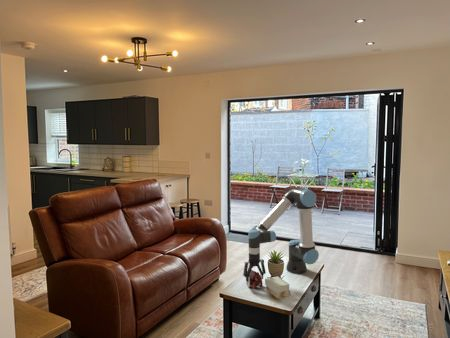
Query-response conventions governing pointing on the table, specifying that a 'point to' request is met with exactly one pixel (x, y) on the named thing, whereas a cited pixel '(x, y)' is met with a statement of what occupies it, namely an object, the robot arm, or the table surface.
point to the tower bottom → (278, 295)
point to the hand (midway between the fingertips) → (254, 284)
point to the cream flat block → (277, 284)
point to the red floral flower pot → (255, 279)
